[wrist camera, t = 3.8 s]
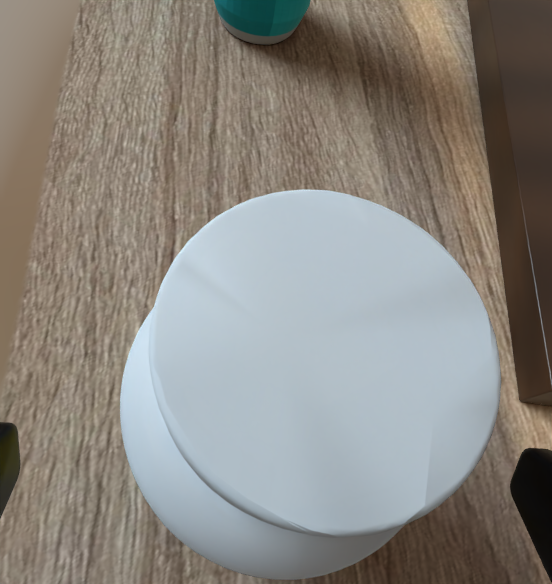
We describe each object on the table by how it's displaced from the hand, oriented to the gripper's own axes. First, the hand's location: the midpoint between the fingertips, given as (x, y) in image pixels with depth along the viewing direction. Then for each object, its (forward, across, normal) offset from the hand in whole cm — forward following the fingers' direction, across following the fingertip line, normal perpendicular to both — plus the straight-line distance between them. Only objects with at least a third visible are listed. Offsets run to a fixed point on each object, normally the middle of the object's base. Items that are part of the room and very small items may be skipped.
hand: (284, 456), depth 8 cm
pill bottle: (+7, 0, +5) cm, 9 cm away
